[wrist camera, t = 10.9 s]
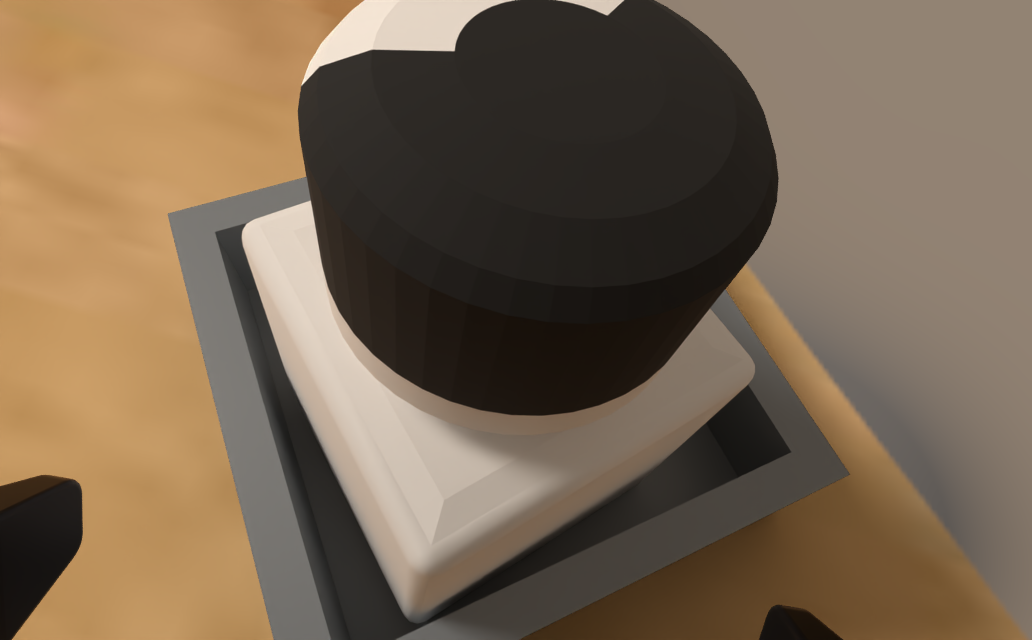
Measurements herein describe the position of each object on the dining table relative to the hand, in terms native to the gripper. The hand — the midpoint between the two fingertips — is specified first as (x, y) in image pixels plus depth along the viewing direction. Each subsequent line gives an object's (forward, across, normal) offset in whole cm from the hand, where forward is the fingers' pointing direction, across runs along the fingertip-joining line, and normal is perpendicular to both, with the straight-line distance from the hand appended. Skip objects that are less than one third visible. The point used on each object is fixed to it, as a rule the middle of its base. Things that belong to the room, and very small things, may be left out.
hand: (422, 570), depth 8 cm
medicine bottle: (+9, 0, +3) cm, 10 cm away
